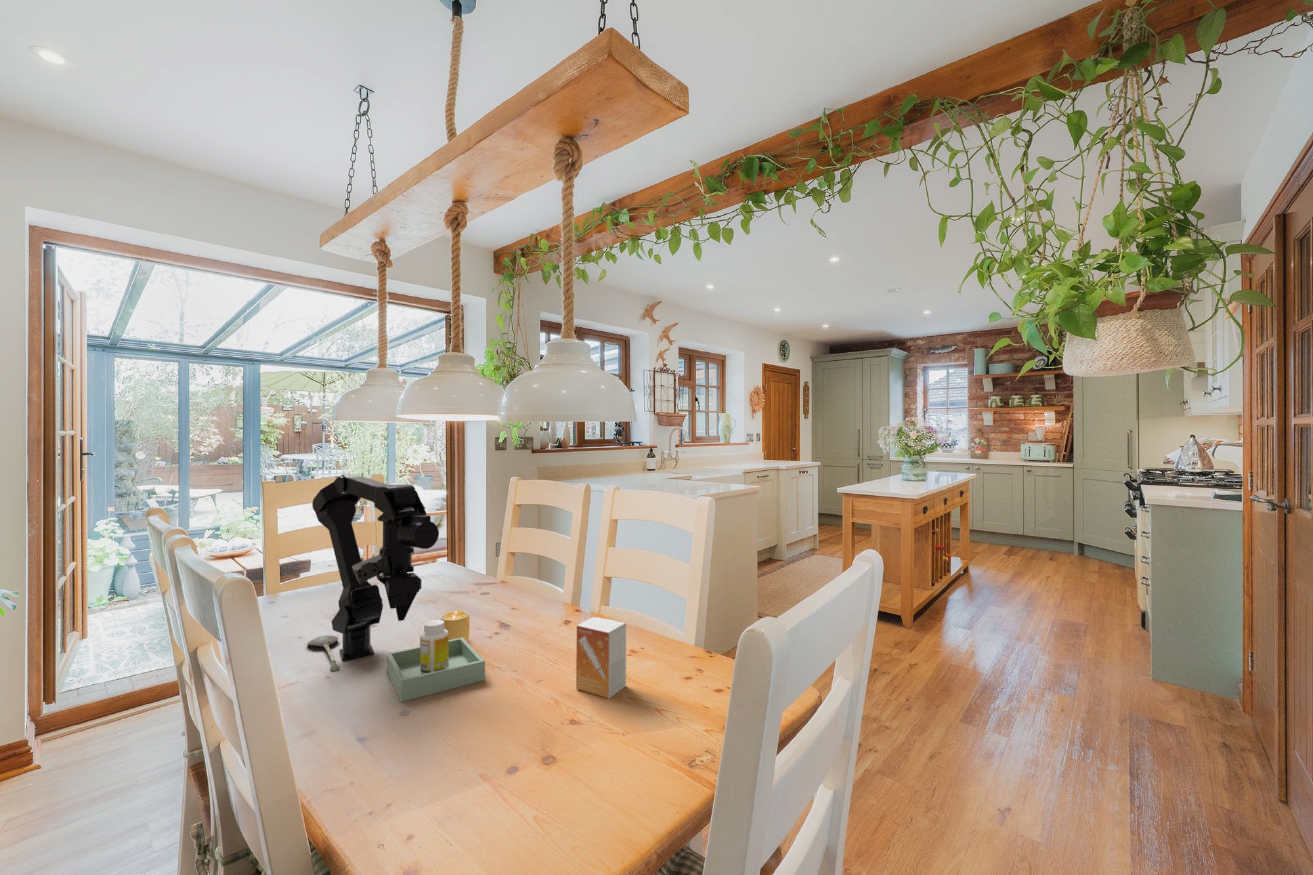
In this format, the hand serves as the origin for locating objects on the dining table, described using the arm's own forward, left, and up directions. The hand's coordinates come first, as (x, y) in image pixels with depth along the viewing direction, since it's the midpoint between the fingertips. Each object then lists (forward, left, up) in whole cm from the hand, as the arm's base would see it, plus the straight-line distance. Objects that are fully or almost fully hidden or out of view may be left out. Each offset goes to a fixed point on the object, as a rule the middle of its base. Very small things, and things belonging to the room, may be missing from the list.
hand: (396, 614), depth 119 cm
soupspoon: (-18, -12, -13) cm, 25 cm away
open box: (+9, +6, -12) cm, 16 cm away
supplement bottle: (+9, +6, -11) cm, 15 cm away
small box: (+34, +32, -12) cm, 48 cm away
